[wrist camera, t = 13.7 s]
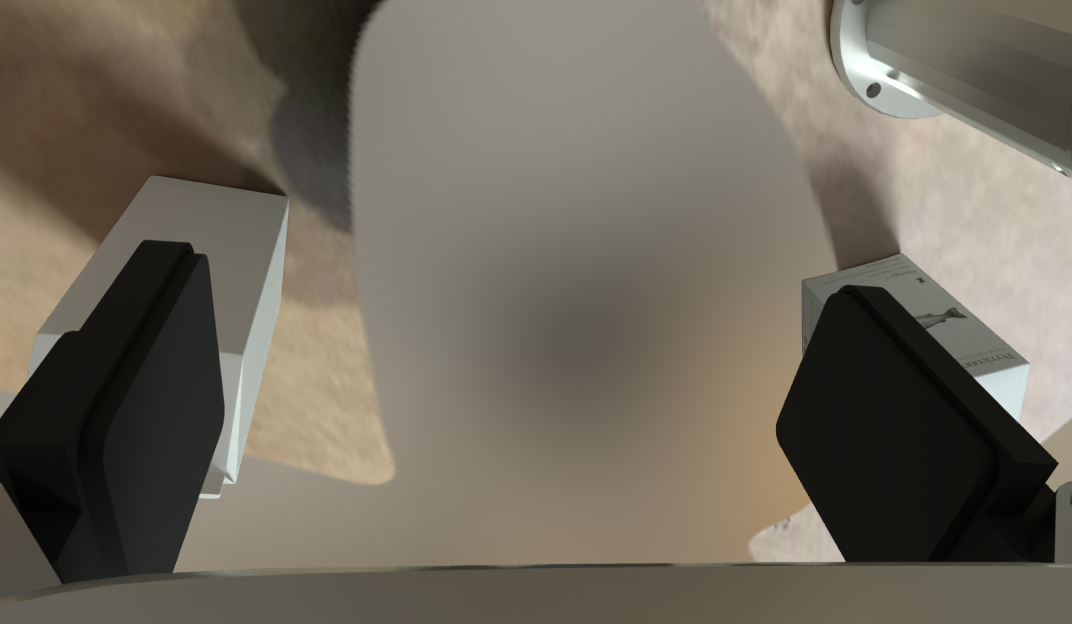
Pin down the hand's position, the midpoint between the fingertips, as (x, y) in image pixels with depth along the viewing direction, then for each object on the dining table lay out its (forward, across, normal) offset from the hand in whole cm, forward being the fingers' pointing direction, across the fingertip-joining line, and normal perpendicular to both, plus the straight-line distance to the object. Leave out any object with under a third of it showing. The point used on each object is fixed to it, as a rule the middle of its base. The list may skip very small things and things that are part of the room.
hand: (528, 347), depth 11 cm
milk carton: (+30, +12, +15) cm, 36 cm away
